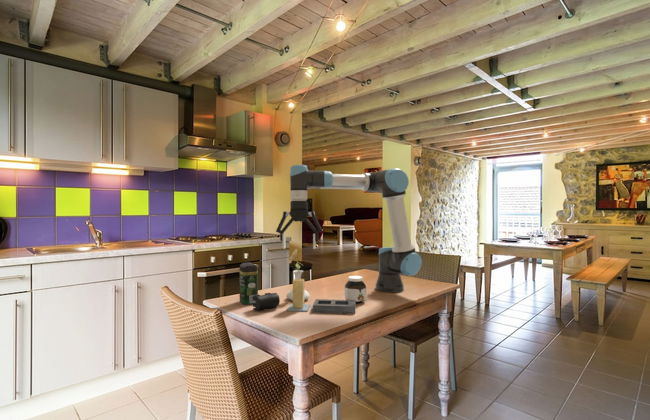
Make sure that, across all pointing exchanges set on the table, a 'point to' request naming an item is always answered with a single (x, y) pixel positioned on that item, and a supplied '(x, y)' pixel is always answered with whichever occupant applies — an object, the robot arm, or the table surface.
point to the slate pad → (305, 309)
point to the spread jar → (355, 289)
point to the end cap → (266, 301)
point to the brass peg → (298, 293)
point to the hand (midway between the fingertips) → (299, 248)
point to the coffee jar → (248, 282)
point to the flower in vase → (297, 275)
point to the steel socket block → (334, 306)
